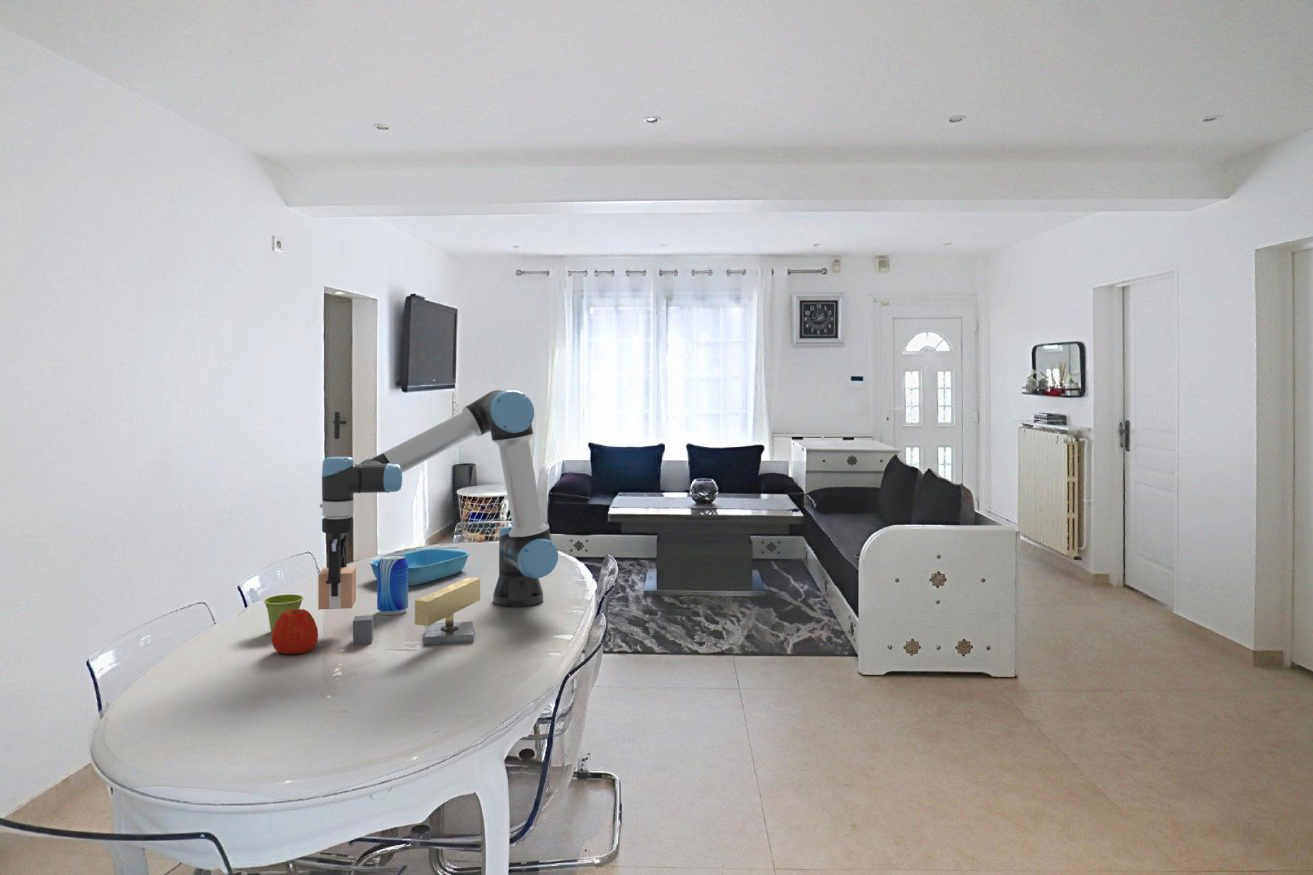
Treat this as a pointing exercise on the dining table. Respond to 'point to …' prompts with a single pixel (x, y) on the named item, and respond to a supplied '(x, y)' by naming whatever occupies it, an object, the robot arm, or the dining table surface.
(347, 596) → the peach tan cube
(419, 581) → the casserole dish
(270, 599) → the plant pot
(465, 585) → the yellow t-shaped bar
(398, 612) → the beer can
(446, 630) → the grey square base plate
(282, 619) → the apple
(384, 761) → the dining table surface
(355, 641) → the slate grey block
